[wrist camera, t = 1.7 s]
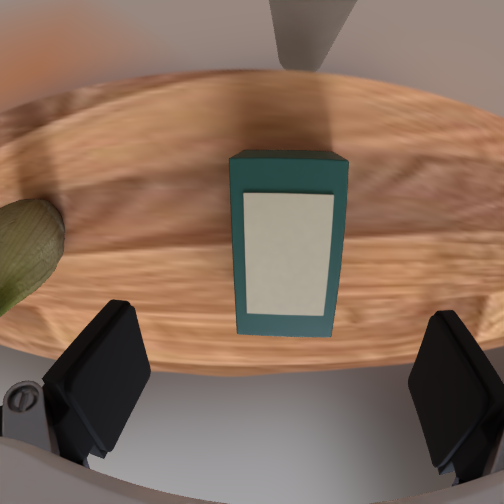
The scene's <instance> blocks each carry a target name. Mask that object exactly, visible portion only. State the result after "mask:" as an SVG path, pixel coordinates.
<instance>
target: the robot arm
mask: <svg viewBox="0 0 504 504" xmlns="http://www.w3.org/2000/svg"><path fill="white" fill-rule="evenodd" d="M150 373H151V369H150V365H149V361H148V358H147V354H146V350H145V347H144V343H143V339H142V335H141V331H140V328H139V323H138V319H137V315H136V311H135V308H134V307H133V306H131V305H130V303H129V302H128V301H123V300H114V299H113V300H110V301H109V302H108V303H107V304H106V305H105V307H104V308H103V309H102V310H101V311H100V312H99V313H98V314H97V315H96V316H95V317H94V319H93V320H92V321H91V322H90V323H89V324H88V325H87V326H86V327H85V329H84V330H83V331H82V332H81V333H80V334H79V335H78V336H77V338H76V339H75V340H74V341H73V342H72V343H71V344H70V346H69V347H68V348H67V349H66V350H65V351H64V353H63V354H62V355H61V356H60V357H59V358H58V360H57V361H56V362H55V363H54V365H53V366H52V367H51V368H50V369H49V371H48V372H47V373H46V374H45V375H44V377H43V378H42V380H43V381H44V383H45V384H44V385H43V387H41V386H40V385H39V384H38V383H36V382H34V381H22V382H19V383H16V384H15V385H13V386H12V387H11V388H10V389H9V390H8V391H7V392H6V394H5V396H4V399H3V405H2V406H0V504H226V503H218V502H212V501H205V500H200V499H194V498H189V497H184V496H179V495H175V494H170V493H166V492H162V491H158V490H154V489H150V488H146V487H143V486H139V485H136V484H132V483H129V482H126V481H123V480H120V479H117V478H114V477H111V476H108V475H105V474H102V473H99V472H96V471H94V470H91V469H90V468H89V464H88V461H87V456H88V455H89V453H90V454H92V455H95V456H98V457H100V458H103V459H104V458H105V456H106V454H107V452H111V451H112V450H113V449H114V447H115V445H116V442H117V441H118V438H119V436H120V434H121V432H122V430H123V428H124V426H125V424H126V422H127V420H128V418H129V416H130V414H131V412H132V410H133V409H134V407H135V405H136V403H137V401H138V399H139V397H140V395H141V393H142V391H143V389H144V387H145V385H146V383H147V381H148V379H149V377H150ZM408 387H409V390H410V393H411V396H412V399H413V402H414V405H415V408H416V411H417V414H418V417H419V420H420V423H421V426H422V430H423V433H424V436H425V439H426V443H427V446H428V449H429V453H430V457H431V460H432V464H433V466H434V467H437V468H438V471H439V475H441V474H445V473H449V472H453V471H454V470H455V473H456V478H455V480H454V482H453V484H452V486H451V487H449V488H445V489H441V490H438V491H434V492H430V493H426V494H421V495H417V496H413V497H407V498H403V499H397V500H392V501H386V502H379V503H371V504H504V384H503V382H502V381H501V379H500V377H499V376H498V374H497V372H496V371H495V369H494V368H493V366H492V365H491V363H490V361H489V360H488V358H487V357H486V355H485V354H484V352H483V351H482V349H481V348H480V346H479V345H478V343H477V342H476V340H475V339H474V338H473V336H472V335H471V333H470V332H469V330H468V329H467V328H466V326H465V325H464V323H463V322H462V321H461V319H460V318H459V317H458V315H457V314H456V313H455V312H454V311H453V310H444V311H437V312H436V313H435V314H434V316H431V317H430V319H429V322H428V326H427V329H426V332H425V335H424V338H423V341H422V344H421V347H420V349H419V352H418V355H417V358H416V360H415V363H414V366H413V368H412V371H411V373H410V376H409V379H408Z"/></svg>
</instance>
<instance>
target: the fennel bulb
mask: <svg viewBox="0 0 504 504" xmlns="http://www.w3.org/2000/svg"><path fill="white" fill-rule="evenodd" d="M64 233H65V227H64V223H63V220H62V217H61V215H60V213H59V212H58V211H57V209H56V208H55V207H54V206H53V205H52V204H51V203H50V202H48V201H46V200H44V199H40V200H35V199H24V200H19V201H16V202H13V203H11V204H8V205H6V206H4V207H2V208H0V317H1V316H2V315H3V314H5V313H6V312H7V311H8V310H9V309H11V308H12V307H13V306H15V305H16V304H17V303H19V302H20V301H22V300H23V299H24V298H26V297H27V296H28V295H30V294H32V293H33V292H34V291H36V290H37V289H38V288H39V287H40V286H41V285H42V284H43V283H44V282H45V281H46V280H47V279H48V278H49V277H50V276H51V274H52V273H53V272H54V271H55V269H56V267H57V264H58V262H59V260H60V259H61V257H62V255H63V251H64V239H65V238H64Z"/></svg>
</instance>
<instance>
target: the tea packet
mask: <svg viewBox="0 0 504 504" xmlns="http://www.w3.org/2000/svg"><path fill="white" fill-rule="evenodd" d="M348 168H349V161H348V160H346V159H345V158H343V157H341V156H339V155H338V154H336V153H334V152H330V151H307V150H244V151H242V152H240V153H238V154H236V155H234V156H233V157H231V158H229V177H230V204H231V228H232V250H233V271H234V290H235V308H236V326H237V334H243V335H261V336H285V337H331V335H332V329H333V323H334V316H335V309H336V302H337V294H338V287H339V279H340V270H341V261H342V252H343V241H344V230H345V218H346V204H347V188H348Z"/></svg>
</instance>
